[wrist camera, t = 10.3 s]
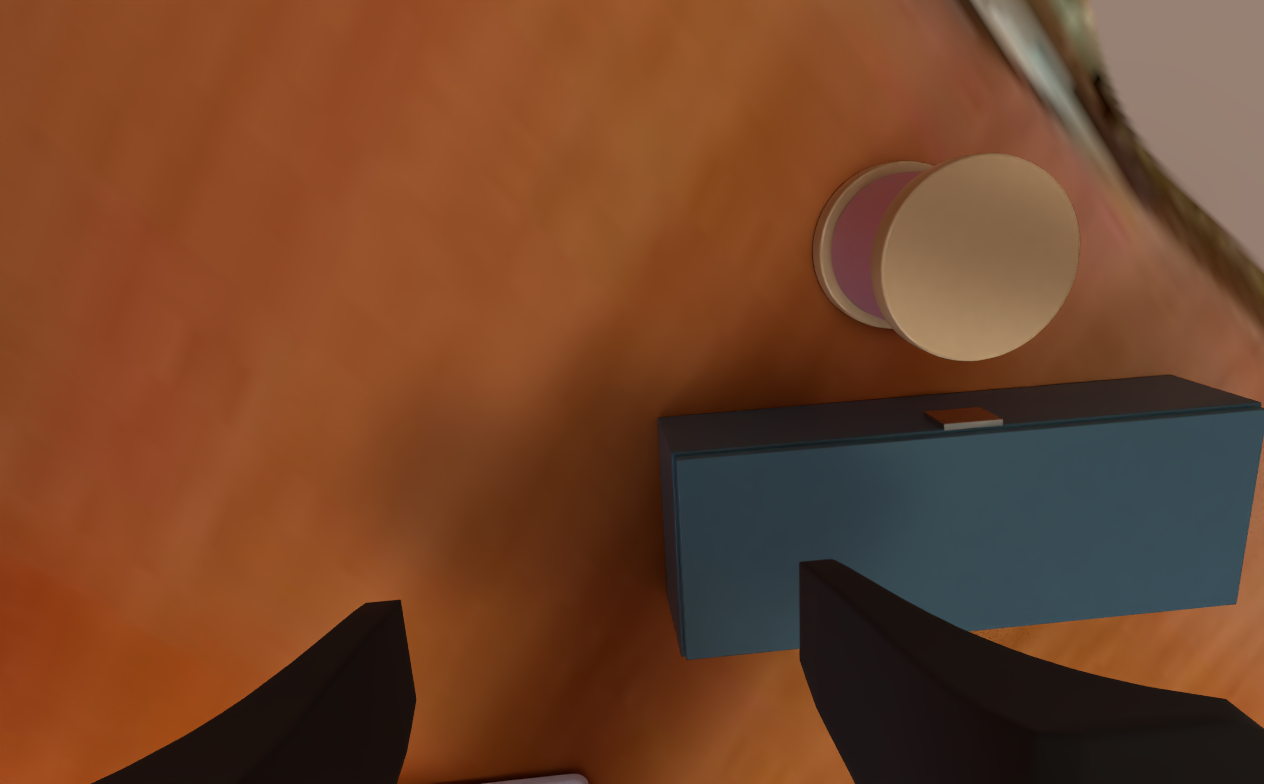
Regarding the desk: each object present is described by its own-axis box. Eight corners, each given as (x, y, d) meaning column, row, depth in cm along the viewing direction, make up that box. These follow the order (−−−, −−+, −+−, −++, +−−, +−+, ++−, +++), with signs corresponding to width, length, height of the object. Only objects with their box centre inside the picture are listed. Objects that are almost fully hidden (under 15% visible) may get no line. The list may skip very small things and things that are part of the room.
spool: (964, 319, 22) (1072, 354, 18) (811, 330, 22) (878, 369, 17) (972, 156, 21) (1090, 146, 16) (811, 167, 21) (884, 159, 16)
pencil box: (1172, 369, 23) (1273, 399, 20) (1149, 551, 25) (1239, 607, 22) (657, 412, 22) (671, 451, 19) (667, 598, 24) (683, 664, 21)
